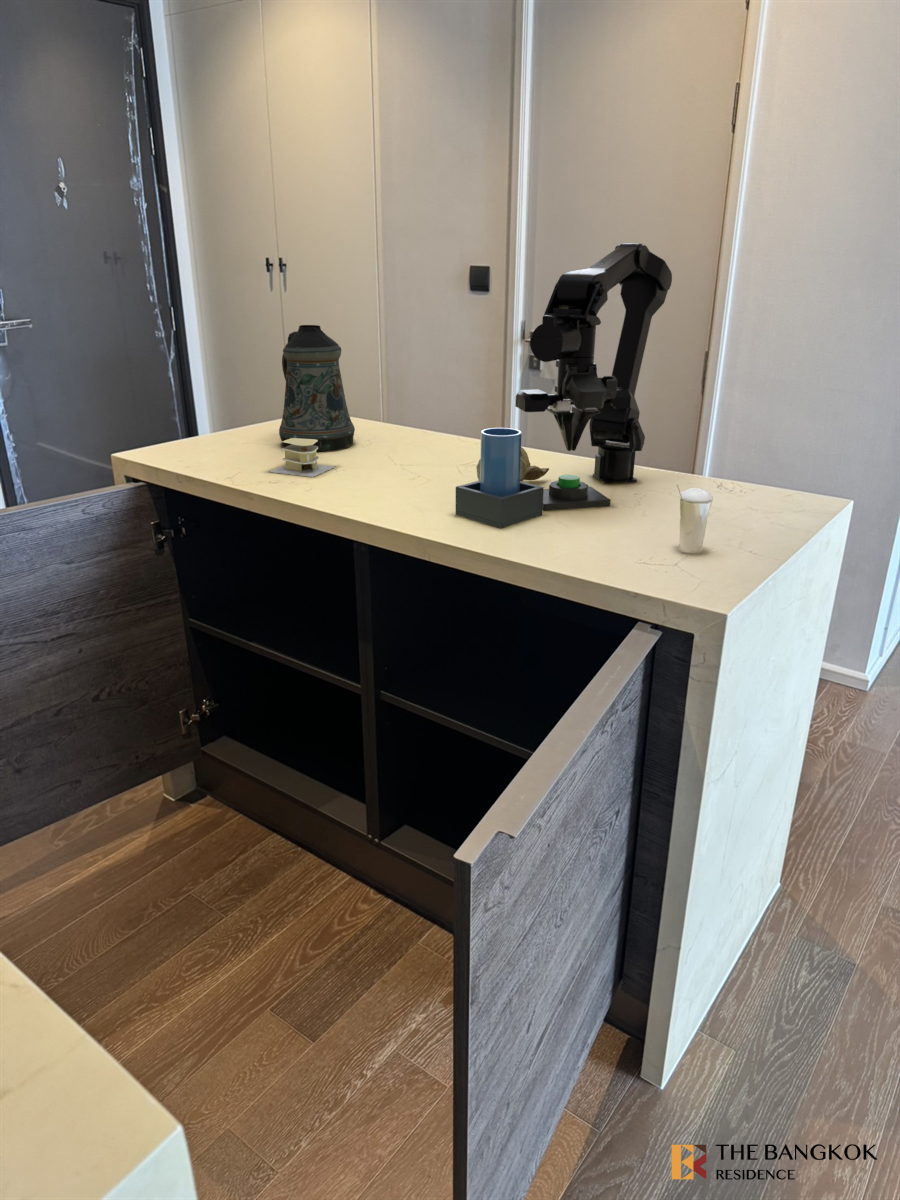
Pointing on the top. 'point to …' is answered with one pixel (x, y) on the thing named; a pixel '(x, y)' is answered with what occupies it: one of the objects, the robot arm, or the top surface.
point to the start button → (569, 481)
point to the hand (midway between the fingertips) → (570, 450)
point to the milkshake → (693, 518)
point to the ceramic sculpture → (524, 469)
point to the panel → (572, 497)
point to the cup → (500, 461)
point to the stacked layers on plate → (301, 458)
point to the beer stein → (314, 391)
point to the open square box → (499, 504)
